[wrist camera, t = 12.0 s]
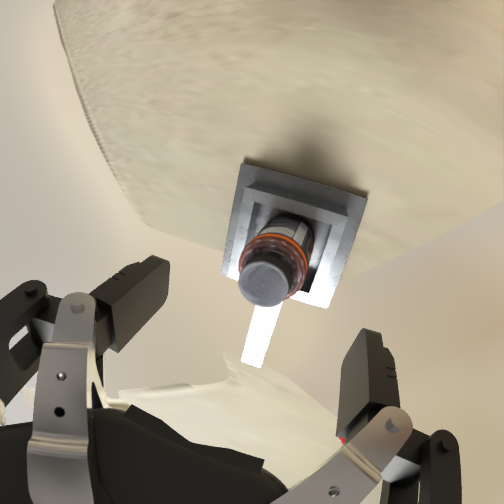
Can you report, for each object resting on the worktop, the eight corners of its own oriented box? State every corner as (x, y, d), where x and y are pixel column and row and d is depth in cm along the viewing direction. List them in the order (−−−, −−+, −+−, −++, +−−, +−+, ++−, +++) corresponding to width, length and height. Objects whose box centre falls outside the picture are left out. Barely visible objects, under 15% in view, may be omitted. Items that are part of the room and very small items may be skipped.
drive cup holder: (210, 340, 41) (200, 355, 38) (243, 162, 30) (231, 165, 27) (298, 370, 39) (293, 388, 36) (366, 197, 28) (371, 205, 24)
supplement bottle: (306, 270, 32) (288, 329, 22) (257, 254, 33) (219, 304, 23) (321, 222, 29) (311, 265, 19) (269, 206, 30) (232, 239, 20)
